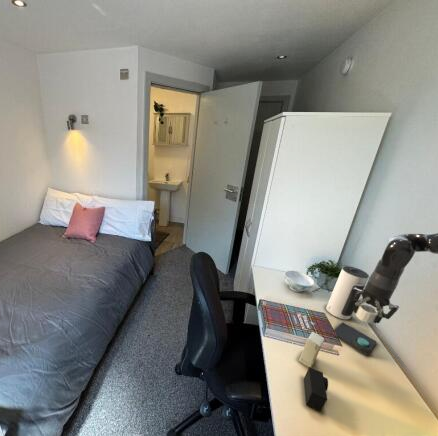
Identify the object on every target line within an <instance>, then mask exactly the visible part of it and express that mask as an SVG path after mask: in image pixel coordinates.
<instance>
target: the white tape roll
mask: <svg viewBox="0 0 438 436" xmlns="http://www.w3.org/2000/svg"><path fill="white" fill-rule="evenodd" d="M355 315H356V317H357V318H358V320H360V321H361V322H362V323H363V322H364V323H367V324H375V323H374V321H375V319H376V317H377V315H378V312H377V309H376V308H375V307H373V306H372V305H370V304H366V303H365V304H364V303H363V304H360V305H359V308H358V310H357V312H356V313H355Z"/></svg>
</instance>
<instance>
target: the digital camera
mask: <svg viewBox="0 0 438 436" xmlns="http://www.w3.org/2000/svg"><path fill="white" fill-rule="evenodd" d="M303 387H304V388H303V389H304V397H305V398H304V399H305V406H307V407H309V408H311V409H313V410H315V411H316V412H319V413H322V410H323V409H324V407H325V405H326V403H327V402H328V394H327V391H328V389H329V379H328V378H327V377H325V376H324V372H322V371H320V370H318V369H315V368H313V367H308V368H307V370H306V373H305V375H304V377H303Z"/></svg>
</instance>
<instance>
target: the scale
mask: <svg viewBox="0 0 438 436" xmlns="http://www.w3.org/2000/svg"><path fill="white" fill-rule="evenodd" d="M333 331H334V332H335V333H336V335H337V337H338V338H337V337H336V338H337V339H339V340H340V341H342V342H343V343H345V344H346V345H348V346H350V347H351V348H353V349H354V350H355V351H358V352H360V353H361V354H363V355H364V356H366V357H367V356H368V355H369V354H370V353H371V352H372V350H373V348H374V347H375V345H376V344H377V340H376V339H374V338H372V337H370V336H368V335H366V334H364V333H363V332H361V331H360V330H358V329H356V328H354V327H352V326H351V325H350V324H349V325H348V324H347V323H345V322H344V321H342V322H341V323H340V324H339V325H338V326H336V328H334V330H333ZM358 338H363V339H365V340H367V341H368V342H369V345H368V347H363V346H361V345H360V344H358V343H357V340H358Z"/></svg>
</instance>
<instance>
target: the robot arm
mask: <svg viewBox="0 0 438 436" xmlns="http://www.w3.org/2000/svg"><path fill="white" fill-rule="evenodd" d="M419 252H420V253H421V252H422V253H424V252H425V253H431V254H435V255H438V232H432V233H402V234H396V235H395V234H394V235H392V236H391V237H390V238H388V240H387V241H386V246H385V248H384V252H383V254H382V256H381V258H380V259H379V260H378V261H377V264H376V266H375V268H374V270H373V271H372V273H371V274H370V275H369V278H368V280H367V283H366V285H365V287H364V289H363V290H359V289H358V288H357V287H355V288H353V289H352V293H351V298H350V301H351V302H353V303H354V304H355V305H354V307H353V313H354V314H356V312H357V310H358V308H359V305H360V304H364V303H365V304H366V305H369V306H371V307H373V308H375V309H376V310H377V312H378V315H377V317H376V319H375V321H374V323H373V324H380V323H381V320H383V319H386V320H390V319H391V318H392V317H393V315H394V314H395V313H397V312H398V310H399V308H400V306H399V305H396V304H393V303H391V301H390V300H391V298H392V296H393V294H394V292H395V291H396V289H397V287H398V285H399V281H400V279H401V277H402V275H403V273H404V271H405V269H406V267H407V265H408V264H409V263H410V262H411V260H412V258H414V255H415V253H419ZM359 293H361V298H359V300H356V296H357V294H359ZM384 307H388V309H389V311H388V312H387V313H385V311H384Z"/></svg>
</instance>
